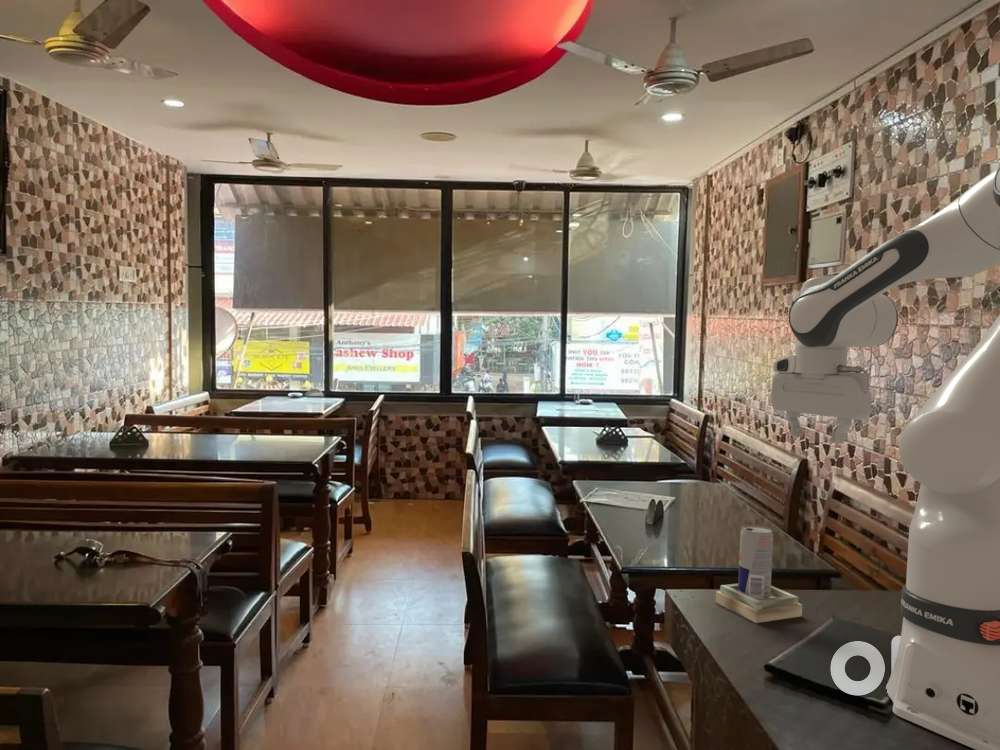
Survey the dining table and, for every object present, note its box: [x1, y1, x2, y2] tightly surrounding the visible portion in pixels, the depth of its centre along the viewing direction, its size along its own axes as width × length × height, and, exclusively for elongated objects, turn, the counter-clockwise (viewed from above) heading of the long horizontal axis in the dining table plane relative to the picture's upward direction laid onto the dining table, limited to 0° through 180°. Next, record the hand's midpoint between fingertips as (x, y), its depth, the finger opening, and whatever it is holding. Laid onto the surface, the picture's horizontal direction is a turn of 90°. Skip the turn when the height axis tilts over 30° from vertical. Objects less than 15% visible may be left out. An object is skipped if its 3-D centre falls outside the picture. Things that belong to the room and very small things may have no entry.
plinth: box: [715, 582, 803, 624], centre depth 124 cm, size 10×10×3 cm
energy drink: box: [737, 525, 774, 600], centre depth 124 cm, size 5×5×12 cm
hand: (816, 439), depth 132 cm, fingers open, 8 cm apart
